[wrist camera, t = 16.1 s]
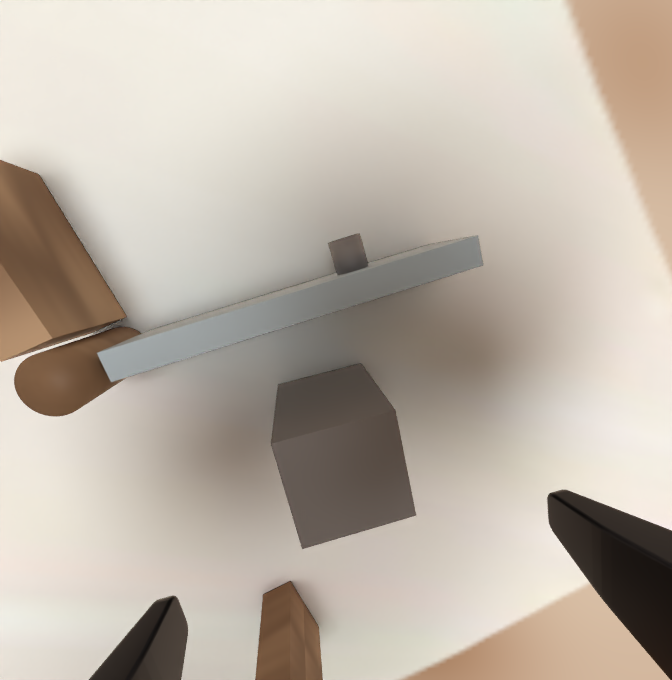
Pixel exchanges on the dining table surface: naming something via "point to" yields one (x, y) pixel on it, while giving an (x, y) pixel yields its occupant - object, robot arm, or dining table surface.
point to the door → (293, 303)
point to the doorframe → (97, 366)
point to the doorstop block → (339, 455)
